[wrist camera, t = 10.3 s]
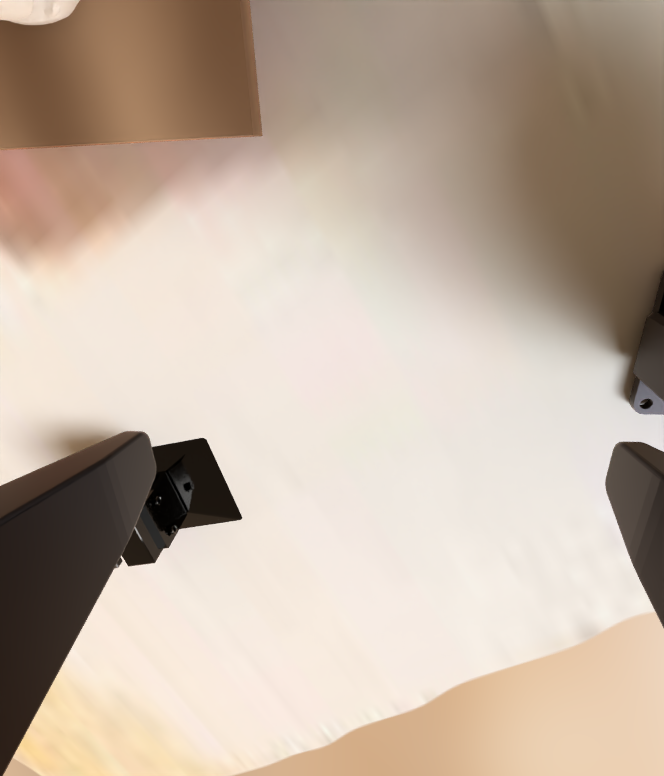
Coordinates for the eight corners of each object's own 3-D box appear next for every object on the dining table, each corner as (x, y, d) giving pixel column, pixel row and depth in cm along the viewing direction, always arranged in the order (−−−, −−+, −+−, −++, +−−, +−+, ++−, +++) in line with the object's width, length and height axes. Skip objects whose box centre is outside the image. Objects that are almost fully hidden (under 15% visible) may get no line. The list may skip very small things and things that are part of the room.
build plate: (88, 546, 30) (40, 608, 25) (27, 449, 27) (-38, 502, 23) (274, 519, 27) (253, 584, 23) (229, 409, 24) (196, 461, 20)
